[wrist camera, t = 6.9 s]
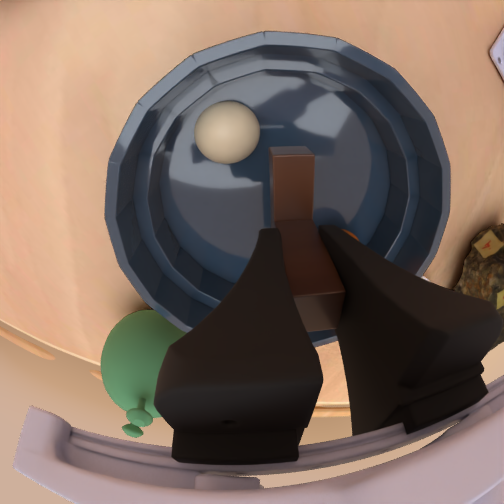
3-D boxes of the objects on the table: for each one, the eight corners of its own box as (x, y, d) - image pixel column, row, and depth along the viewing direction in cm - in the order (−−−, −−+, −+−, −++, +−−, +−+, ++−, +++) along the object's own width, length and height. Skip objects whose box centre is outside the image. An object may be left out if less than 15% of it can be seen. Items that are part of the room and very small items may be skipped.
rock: (530, 336, 15) (487, 386, 15) (481, 300, 23) (438, 338, 23) (550, 229, 10) (510, 283, 11) (479, 204, 19) (429, 241, 19)
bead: (270, 121, 13) (276, 128, 10) (236, 165, 14) (234, 184, 11) (220, 89, 12) (214, 88, 9) (188, 136, 13) (175, 148, 10)
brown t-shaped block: (268, 146, 11) (293, 203, 6) (306, 145, 11) (361, 201, 6) (272, 279, 15) (285, 376, 10) (301, 277, 15) (325, 372, 10)
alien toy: (193, 356, 24) (183, 455, 16) (115, 329, 22) (84, 426, 13) (222, 311, 21) (216, 436, 12) (126, 275, 18) (78, 396, 10)
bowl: (440, 175, 15) (487, 207, 10) (294, 324, 22) (304, 375, 18) (245, 0, 9) (247, -39, 5) (105, 227, 16) (71, 273, 12)
